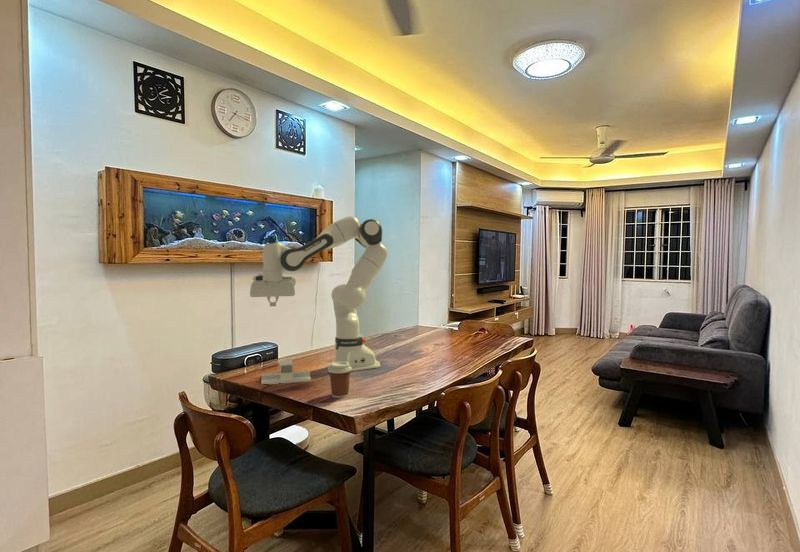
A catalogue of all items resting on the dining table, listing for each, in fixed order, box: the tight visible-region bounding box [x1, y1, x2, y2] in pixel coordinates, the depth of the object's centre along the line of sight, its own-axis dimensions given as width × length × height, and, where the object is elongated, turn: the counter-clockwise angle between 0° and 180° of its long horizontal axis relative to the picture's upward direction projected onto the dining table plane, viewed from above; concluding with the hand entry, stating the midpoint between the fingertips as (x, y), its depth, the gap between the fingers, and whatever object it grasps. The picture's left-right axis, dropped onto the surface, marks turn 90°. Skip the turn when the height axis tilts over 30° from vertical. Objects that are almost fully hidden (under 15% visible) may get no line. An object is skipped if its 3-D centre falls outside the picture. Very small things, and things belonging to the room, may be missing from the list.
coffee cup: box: [327, 361, 353, 399], centre depth 159 cm, size 9×9×12 cm
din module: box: [279, 357, 294, 380], centre depth 179 cm, size 5×9×7 cm, turn 17°
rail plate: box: [260, 370, 312, 386], centre depth 180 cm, size 20×12×2 cm, turn 107°
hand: (272, 306), depth 197 cm, fingers closed
